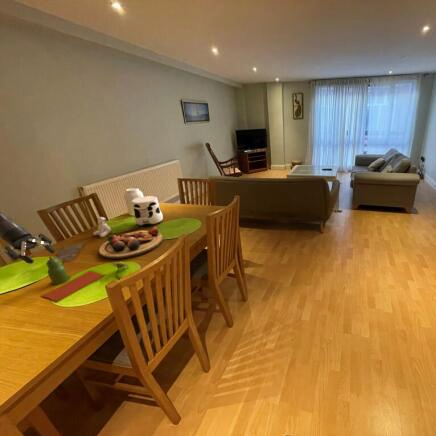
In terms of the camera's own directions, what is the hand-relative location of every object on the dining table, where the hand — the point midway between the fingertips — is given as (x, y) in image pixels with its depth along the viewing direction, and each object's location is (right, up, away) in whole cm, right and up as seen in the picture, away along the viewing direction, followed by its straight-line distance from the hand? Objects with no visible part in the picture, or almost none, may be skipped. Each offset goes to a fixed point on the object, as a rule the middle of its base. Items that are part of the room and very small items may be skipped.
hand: (43, 257), depth 107 cm
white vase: (-11, +21, +84) cm, 88 cm away
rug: (-14, -2, +27) cm, 30 cm away
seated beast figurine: (-11, +7, +49) cm, 51 cm away
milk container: (+9, +14, +66) cm, 68 cm away
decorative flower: (+30, -10, +9) cm, 33 cm away
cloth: (+13, -13, +1) cm, 19 cm away
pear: (+4, -12, +4) cm, 13 cm away
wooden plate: (+17, +1, +35) cm, 39 cm away
